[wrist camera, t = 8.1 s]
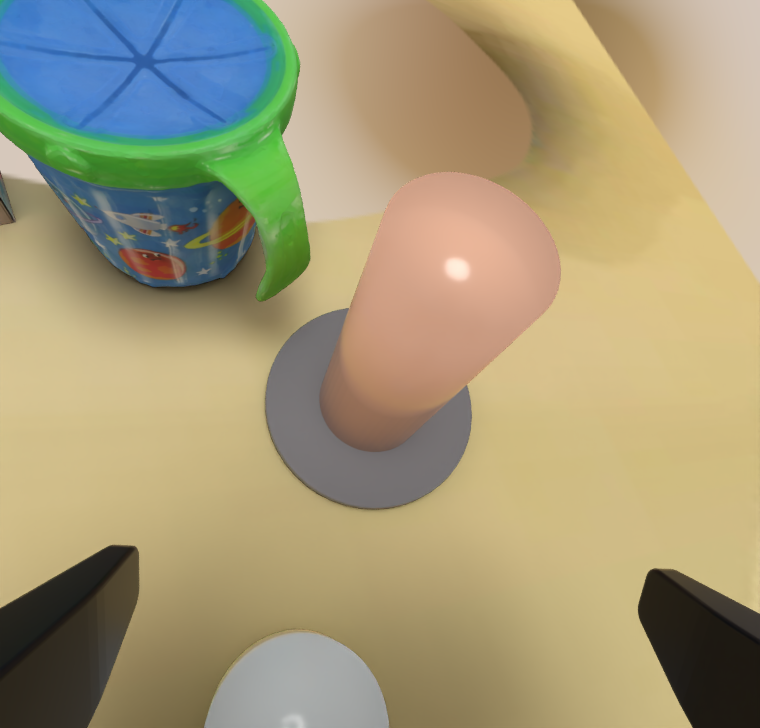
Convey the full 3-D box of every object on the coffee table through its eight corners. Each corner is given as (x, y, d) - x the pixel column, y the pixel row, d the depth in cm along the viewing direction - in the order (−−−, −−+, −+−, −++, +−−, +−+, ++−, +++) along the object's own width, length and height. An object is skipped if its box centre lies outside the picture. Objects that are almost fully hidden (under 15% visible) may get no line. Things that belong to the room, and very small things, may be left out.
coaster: (450, 534, 23) (455, 533, 22) (233, 474, 21) (233, 471, 21) (478, 347, 27) (483, 342, 27) (301, 288, 26) (302, 282, 25)
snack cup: (-11, 162, 25) (-159, -85, 16) (182, 100, 29) (155, -118, 20) (168, 405, 22) (115, 276, 13) (350, 294, 27) (404, 143, 18)
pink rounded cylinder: (434, 441, 24) (588, 319, 13) (331, 461, 22) (411, 341, 11) (407, 347, 25) (523, 171, 15) (310, 359, 24) (362, 172, 13)
